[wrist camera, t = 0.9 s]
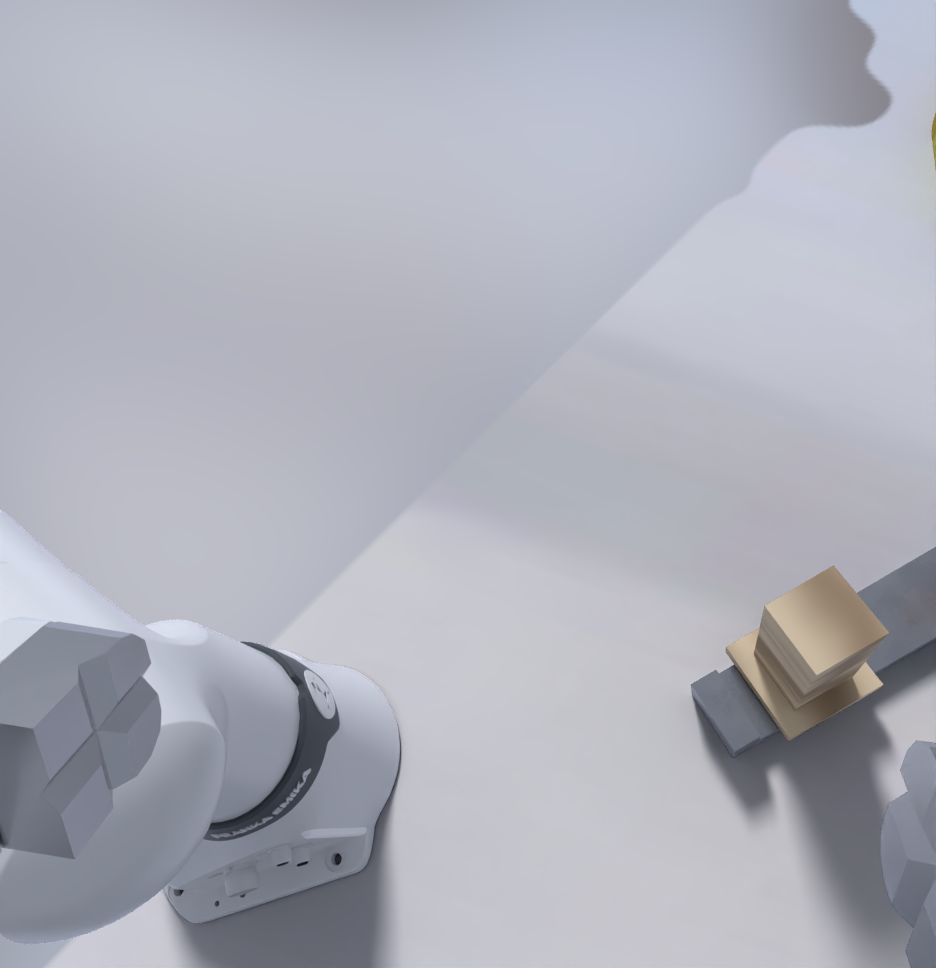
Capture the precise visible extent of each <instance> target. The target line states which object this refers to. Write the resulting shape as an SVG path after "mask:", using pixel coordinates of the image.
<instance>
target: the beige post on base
mask: <svg viewBox="0 0 936 968" xmlns="http://www.w3.org/2000/svg"><path fill="white" fill-rule="evenodd" d="M888 634H889V632H888V631H887V629H886V628H885V627H884V626H883V625H882V623H881V622H880V621H879V620H878V619H877V617H876V616H875V615H874V614H873V612H872V611H871V610H870V609H869V608H868V606H867V605H866V604H865V603H864V602H863V600H862V599H861V598H860V597H859V596H858V594H857V593H856V592H855V591H854V590H853V588H852V587H851V586H850V585H849V583H848V582H847V581H846V580H845V579H844V577H843V576H842V575H841V574H840V573H839V571H838V570H837V569H836V568H835V567H834V566H832V567H830V568H828V569H827V570H825V571H823V572H822V573H820V574H818V575H817V576H815V577H813V578H811V579H810V580H808V581H806V582H805V583H803V584H801V585H799V586H798V587H796V588H794V589H793V590H791V591H789V592H788V593H786V594H784V595H782V596H781V597H779V598H777V599H776V600H774V601H772V602H770V603H769V604H767V605H765V606H764V611H763V615H762V620H761V624H760V627H759V628H758V629H756V630H754V631H753V632H751V633H749V634H748V635H746V636H744V637H742V638H741V639H739V640H737V641H736V642H734V643H732V644H730V645H729V646H727V647H726V653H727V654H728V656H729V657H730V659H731V660H732V662H733V663H734V665H735V666H736V667H737V669H738V670H739V672H740V673H741V675H742V676H743V677H744V679H745V680H746V682H747V683H748V685H749V686H750V688H751V689H752V690H753V692H754V693H755V695H756V696H757V698H758V699H759V700H760V702H761V703H762V705H763V706H764V708H765V709H766V711H767V712H768V713H769V715H770V716H771V718H772V719H773V721H774V722H775V723H776V725H777V726H778V728H779V729H780V731H781V732H782V733H783V735H784V736H785V738H786V739H787V741H790V740H792V739H794V738H795V737H797V736H799V735H800V734H802V733H804V732H806V731H807V730H809V729H811V728H813V727H814V726H816V725H818V724H819V723H821V722H823V721H825V720H826V719H828V718H830V717H831V716H833V715H835V714H837V713H838V712H840V711H842V710H844V709H845V708H847V707H849V706H850V705H852V704H854V703H856V702H857V701H859V700H861V699H862V698H864V697H866V696H868V695H869V694H871V693H873V692H875V691H876V690H878V689H879V688H881V687H882V686H883V683H882V682H881V681H880V680H879V678H878V677H877V676H876V675H875V673H874V672H873V671H872V669H871V668H870V667H869V666H868V664H867V663H866V661H867V659H868V658H869V657H870V656H871V655H872V653H873V652H874V651H875V650H876V648H877V647H878V646H879V645H880V644H881V642H882V641H883V640H884V639H885V638H886V636H887V635H888Z"/></svg>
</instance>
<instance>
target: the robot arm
mask: <svg viewBox="0 0 936 968" xmlns="http://www.w3.org/2000/svg"><path fill="white" fill-rule="evenodd" d="M399 757H400V740H399V731H398V726H397V722H396V718H395V715H394V713H393V710H392V708H391V706H390V704H389V702H388V700H387V698H386V697H385V695H384V694H383V693H382V691H381V690H380V689H379V688H378V687H377V686H376V685H375V684H374V683H373V682H372V681H371V680H370V679H369V678H367V677H366V676H364V675H363V674H361V673H359V672H357V671H355V670H353V669H350V668H347V667H343V666H338V665H327V664H318V663H312V662H310V661H308V660H306V659H305V658H303V657H301V656H300V655H298V654H296V653H293V652H290V651H285V650H279V651H275V650H273V649H270V648H268V646H265V645H262V644H255V643H251V642H239V641H236V640H234V639H232V638H230V637H227V636H225V635H223V634H221V633H219V632H216V631H214V630H211V629H210V628H207V627H205V626H203V625H200V624H198V623H196V622H193V621H187V620H176V619H175V620H163V621H158V622H154V623H151V624H148V625H146V626H144V625H143V624H141V623H140V622H138V621H137V620H135V619H134V618H133V617H131V616H130V615H128V614H127V613H126V612H124V611H123V610H122V609H120V608H119V607H118V606H116V605H115V604H114V603H112V602H111V601H110V600H109V599H107V598H106V597H104V596H103V595H102V594H101V593H99V592H98V591H97V590H96V589H94V588H93V587H92V586H91V585H90V584H89V583H88V582H86V581H85V580H84V579H83V578H82V577H80V576H79V575H77V574H76V573H74V572H73V571H71V570H69V569H68V568H67V567H66V566H65V565H63V564H62V563H61V562H60V561H59V560H58V559H57V558H56V557H55V556H53V555H52V554H51V553H50V552H49V551H48V550H47V549H46V548H44V547H43V546H42V545H41V544H40V543H39V542H38V541H37V540H35V539H34V538H33V537H32V536H31V535H30V534H29V533H28V532H27V531H26V530H24V529H23V528H22V527H21V526H20V525H19V524H18V523H17V522H15V521H14V520H13V519H12V518H11V517H10V516H9V515H7V514H6V513H5V512H4V511H2V510H1V509H0V934H1V935H3V936H4V937H6V938H7V939H9V940H12V941H14V942H18V943H24V944H38V943H48V942H54V941H59V940H65V939H69V938H73V937H77V936H80V935H83V934H87V933H90V932H92V931H95V930H97V929H100V928H102V927H104V926H106V925H109V924H111V923H113V922H115V921H117V920H119V919H121V918H123V917H125V916H126V915H128V914H129V913H131V912H133V911H134V910H136V909H137V908H138V907H140V906H141V905H143V904H144V903H146V902H147V901H148V900H150V899H151V898H152V897H154V896H155V895H156V894H157V893H158V892H159V891H161V890H162V889H163V890H164V892H165V894H166V895H167V897H168V899H169V900H170V902H171V903H172V905H173V906H174V907H175V909H176V910H177V911H178V912H179V913H180V914H181V915H182V916H183V917H184V918H185V919H186V920H188V921H189V922H191V923H204V922H208V921H211V920H214V919H217V918H220V917H223V916H226V915H229V914H233V913H236V912H239V911H242V910H245V909H248V908H251V907H254V906H257V905H260V904H263V903H266V902H269V901H272V900H275V899H278V898H281V897H284V896H287V895H290V894H293V893H297V892H300V891H303V890H306V889H309V888H312V887H315V886H318V885H321V884H324V883H327V882H330V881H333V880H336V879H339V878H342V877H345V876H348V875H351V874H354V873H357V872H359V871H361V870H362V869H363V868H364V867H365V866H366V865H367V863H368V860H369V858H370V854H371V849H372V844H373V837H374V829H375V824H376V821H377V819H378V817H379V815H380V813H381V811H382V809H383V807H384V805H385V803H386V801H387V799H388V797H389V795H390V793H391V791H392V788H393V785H394V782H395V779H396V775H397V771H398V765H399ZM900 771H901V774H902V777H903V779H904V782H905V785H906V787H907V790H908V792H906V793H905V794H903V795H901V796H900V797H898V798H897V799H895V800H893V801H892V802H890V803H889V804H888V807H887V811H886V814H885V818H884V821H883V824H882V828H881V849H880V859H881V866H882V872H883V879H884V883H885V886H886V889H887V893H888V896H889V900H890V903H891V905H892V906H893V907H894V909H895V910H896V911H897V912H898V913H899V914H900V915H901V916H902V917H903V918H904V919H905V920H906V921H907V922H908V923H909V924H910V925H911V926H912V927H913V928H914V929H913V932H912V935H911V937H910V940H909V942H908V945H907V947H906V950H905V951H906V954H907V957H908V960H909V963H910V967H911V968H936V743H932V742H924V741H917V740H916V741H915V743H914V744H913V745H912V746H911V747H910V748H909V749H908V750H907V753H906V755H905V758H904V761H903V764H902V766H901V769H900ZM338 853H339V854H340V855H341V857H342V860H341V863H340V864H339V865H337V864H336V862H335V857H336V855H337V854H338ZM179 890H184V891H183V893H182V895H181V894H180V892H179ZM245 894H246V895H245Z"/></svg>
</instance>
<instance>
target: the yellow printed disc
mask: <svg viewBox="0 0 936 968" xmlns="http://www.w3.org/2000/svg"><path fill="white" fill-rule="evenodd" d="M932 140H933V150H934V158H935V168H936V114H935V117H934V121H933V125H932Z"/></svg>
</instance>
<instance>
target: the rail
mask: <svg viewBox="0 0 936 968" xmlns="http://www.w3.org/2000/svg"><path fill="white" fill-rule="evenodd" d="M857 594H858V596H859V597H860V598H861V599H862V600H863V602H864V603H865V604H866V605H867V606H868V608H869V609H870V610H871V611H872V612H873V614H874V615H875V616H876V617H877V619H878V620H879V621H880V622H881V623H882V625H883V626H884V627H885V628H886V629H887V631H888V632H889V634H888V635H887V636H886V638H885V639H884V640H883V641H882V642H881V644H880V645H879V646H878V647H877V648H876V650H875V651H874V652H873V653H872V655H871V656H870V657H869V658H868V659H867V661H866V663H867V664H868V666H869V667H870V668H871V669H872V671H873V672H874V673H875V675H876V674H878V673H880V672H881V671H883V670H885V669H886V668H888V667H890V666H892V665H893V664H895V663H897V662H898V661H900V660H902V659H904V658H905V657H907V656H909V655H911V654H912V653H914V652H916V651H917V650H919V649H921V648H923V647H924V646H926V645H928V644H929V643H931V642H933V641H935V640H936V547H935V548H933V549H931V550H930V551H928V552H926V553H925V554H923V555H921V556H919V557H918V558H916V559H914V560H913V561H911V562H909V563H907V564H906V565H904V566H902V567H901V568H899V569H897V570H895V571H894V572H892V573H890V574H889V575H887V576H885V577H883V578H882V579H880V580H878V581H877V582H875V583H873V584H871V585H870V586H868V587H866V588H865V589H863V590H861V591H860V592H858V593H857ZM691 690H692V695H693V697H694V699H695V700H696V702H697V703H698V705H699V706H700V708H701V709H702V711H703V712H704V714H705V715H706V717H707V719H708V720H709V722H710V723H711V725H712V726H713V728H714V729H715V731H716V732H717V734H718V735H719V737H720V738H721V740H722V742H723V743H724V745H725V746H726V748H727V749H728V751H729V752H730V754H731V755H732V757H735V756H737V755H739V754H740V753H742V752H744V751H745V750H747V749H749V748H751V747H752V746H754V745H756V744H757V743H759V742H761V741H763V740H764V739H766V738H768V737H769V736H771V735H773V734H775V733H776V732H778V731H780V729H779V728H778V726H777V725H776V723H775V722H774V721H773V719H772V718H771V716H770V715H769V713H768V712H767V711H766V709H765V708H764V706H763V705H762V703H761V702H760V700H759V699H758V698H757V696H756V695H755V693H754V692H753V690H752V689H751V688H750V686H749V685H748V683H747V682H746V680H745V679H744V677H743V676H742V675H741V673H740V672H739V670H738V669H737V667H736V666H735V665H733V666H731V667H729V668H728V669H726V670H724V671H723V672H721V673H719V674H718V672H717V671H716V670H715V671H713V672H711V673H710V674H708V675H706V676H705V677H703V678H701V679H699V680H698V681H696V682H694V683H693V684H691Z"/></svg>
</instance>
